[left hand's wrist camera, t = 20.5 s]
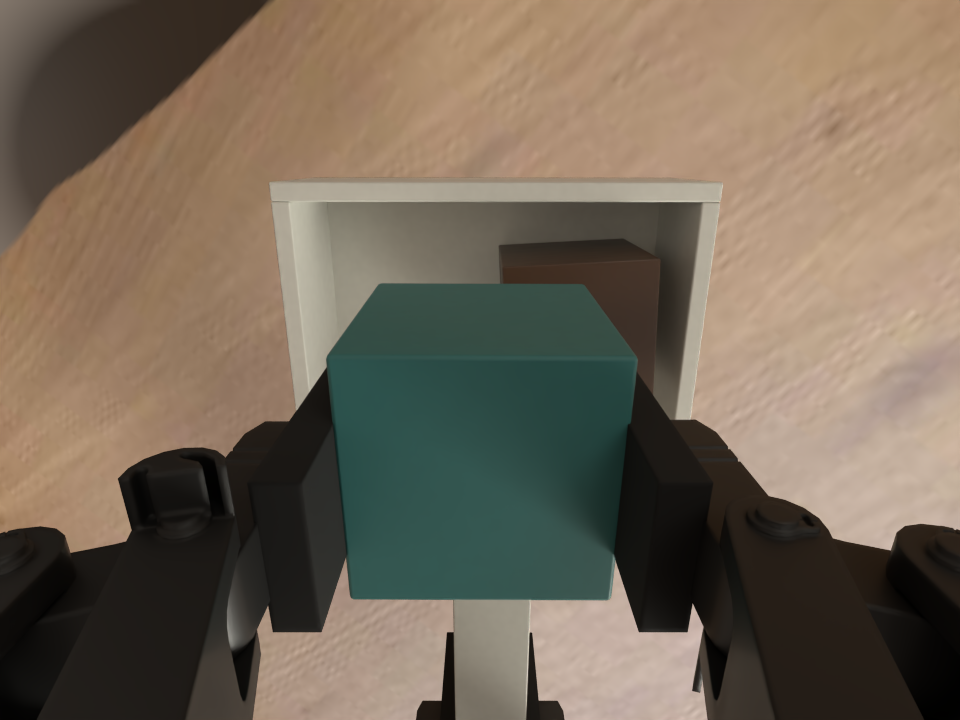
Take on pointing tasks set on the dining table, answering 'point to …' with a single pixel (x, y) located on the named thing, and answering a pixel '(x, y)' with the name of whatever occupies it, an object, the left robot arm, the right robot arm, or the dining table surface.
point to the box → (475, 260)
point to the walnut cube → (598, 284)
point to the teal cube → (480, 442)
